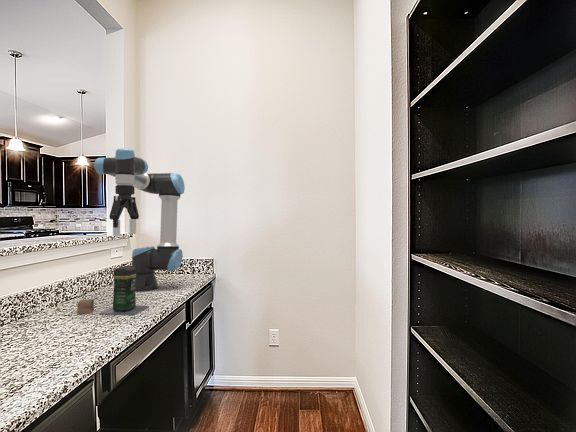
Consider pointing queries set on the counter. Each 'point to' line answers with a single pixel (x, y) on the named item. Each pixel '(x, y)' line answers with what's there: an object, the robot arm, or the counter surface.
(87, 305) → the walnut block
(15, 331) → the counter surface
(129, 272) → the coffee jar
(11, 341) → the counter surface
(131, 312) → the plate
